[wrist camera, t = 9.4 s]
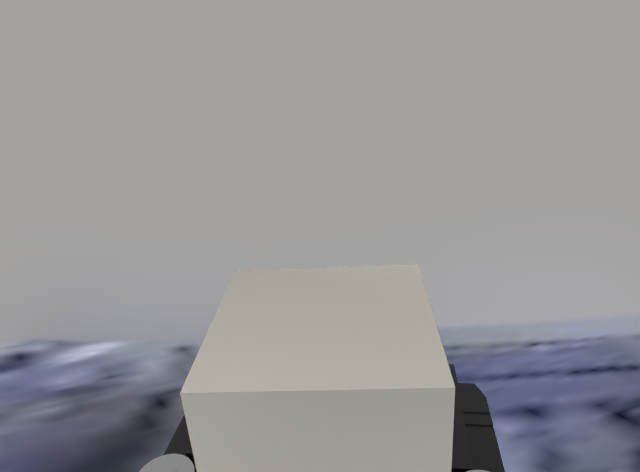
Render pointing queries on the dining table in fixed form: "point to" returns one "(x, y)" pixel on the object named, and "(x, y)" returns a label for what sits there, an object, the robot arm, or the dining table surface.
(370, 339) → the block
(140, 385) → the dining table surface
